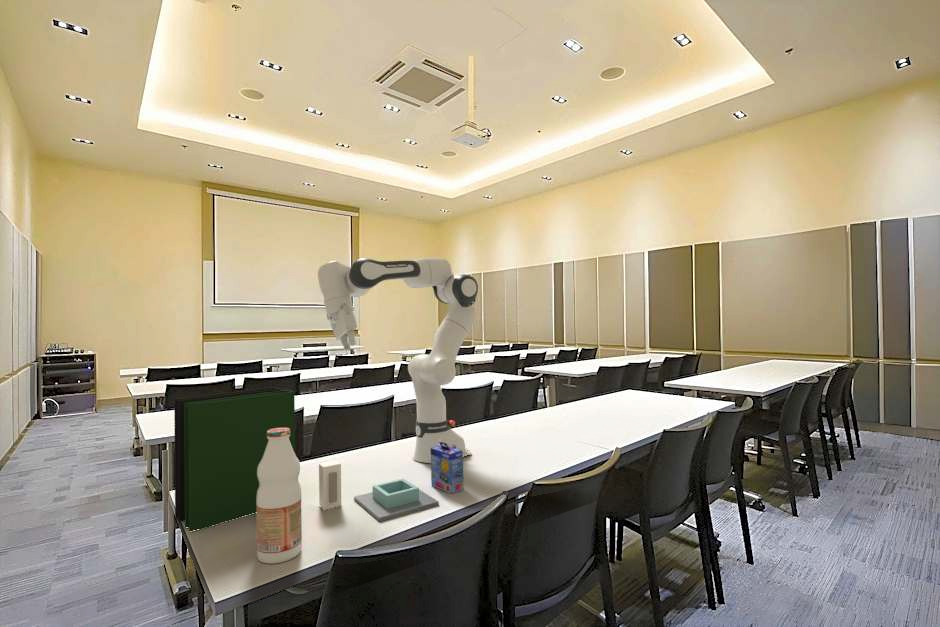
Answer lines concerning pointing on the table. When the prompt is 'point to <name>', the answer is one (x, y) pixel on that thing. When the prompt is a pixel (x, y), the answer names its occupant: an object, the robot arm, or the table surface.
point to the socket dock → (395, 500)
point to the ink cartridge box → (447, 468)
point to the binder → (224, 451)
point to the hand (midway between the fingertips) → (350, 347)
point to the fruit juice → (278, 500)
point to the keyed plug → (330, 484)
